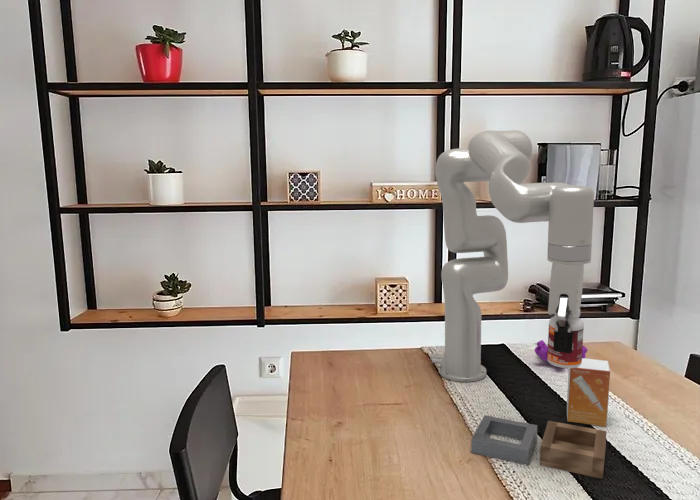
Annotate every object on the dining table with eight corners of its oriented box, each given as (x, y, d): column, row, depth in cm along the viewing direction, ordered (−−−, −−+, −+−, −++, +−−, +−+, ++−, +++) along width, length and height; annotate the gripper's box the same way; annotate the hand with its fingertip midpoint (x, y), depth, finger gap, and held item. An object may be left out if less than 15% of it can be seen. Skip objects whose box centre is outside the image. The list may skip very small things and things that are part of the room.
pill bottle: (541, 364, 106) (543, 308, 104) (554, 355, 111) (556, 301, 109) (575, 372, 102) (577, 314, 100) (586, 362, 107) (589, 306, 105)
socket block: (471, 452, 111) (471, 438, 111) (484, 428, 121) (484, 415, 121) (528, 465, 107) (528, 450, 106) (536, 438, 116) (537, 425, 116)
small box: (567, 422, 123) (569, 366, 120) (566, 409, 129) (568, 356, 126) (607, 427, 120) (610, 370, 118) (604, 414, 126) (608, 359, 123)
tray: (539, 465, 107) (540, 445, 106) (547, 438, 116) (548, 420, 115) (602, 478, 102) (603, 458, 101) (605, 449, 111) (606, 431, 111)
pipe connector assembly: (587, 375, 156) (600, 356, 149) (536, 379, 154) (547, 360, 147) (571, 341, 163) (583, 322, 156) (522, 344, 161) (532, 325, 154)
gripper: (554, 244, 112) (551, 330, 115) (539, 260, 97) (536, 358, 100) (595, 246, 108) (590, 334, 111) (586, 263, 93) (581, 364, 96)
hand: (565, 345), depth 106 cm, fingers closed on pill bottle, 6 cm apart
